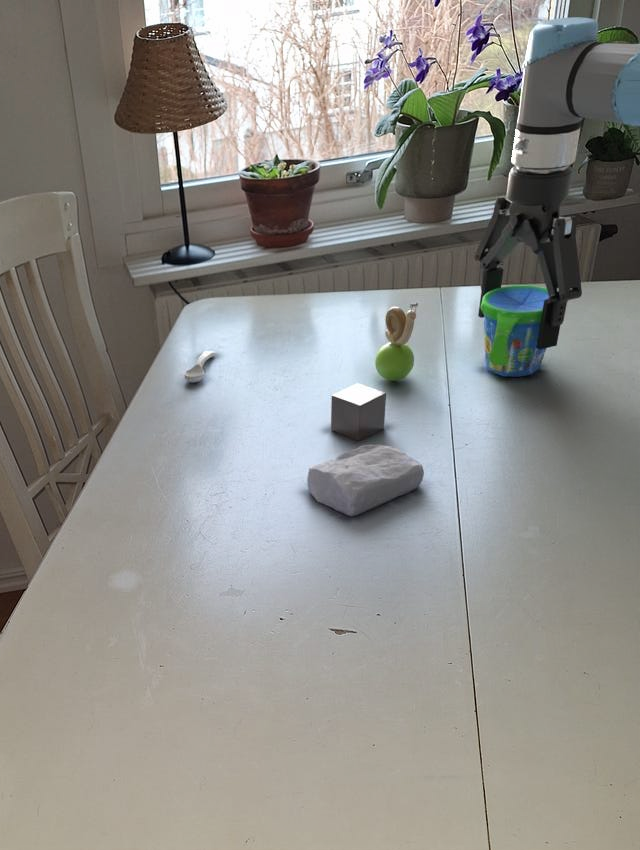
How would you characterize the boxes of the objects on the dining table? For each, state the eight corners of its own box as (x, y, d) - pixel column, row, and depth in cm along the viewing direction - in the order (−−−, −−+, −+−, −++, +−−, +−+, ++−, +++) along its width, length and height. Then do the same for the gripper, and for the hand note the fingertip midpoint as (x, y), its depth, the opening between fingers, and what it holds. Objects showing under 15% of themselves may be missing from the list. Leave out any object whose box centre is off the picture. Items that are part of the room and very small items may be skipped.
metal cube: (384, 428, 122) (386, 392, 119) (358, 441, 120) (360, 405, 117) (356, 417, 126) (357, 382, 122) (330, 430, 123) (331, 395, 120)
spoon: (181, 385, 139) (181, 372, 138) (201, 359, 148) (200, 347, 147) (200, 385, 138) (200, 372, 137) (219, 359, 148) (218, 347, 146)
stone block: (299, 503, 113) (353, 521, 105) (295, 465, 111) (350, 481, 103) (373, 474, 117) (430, 490, 109) (370, 438, 115) (429, 451, 107)
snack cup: (524, 396, 125) (535, 323, 119) (452, 381, 131) (460, 310, 125) (570, 355, 134) (583, 285, 128) (501, 343, 140) (510, 275, 134)
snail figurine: (392, 392, 130) (398, 308, 123) (367, 377, 135) (370, 295, 128) (424, 382, 132) (431, 299, 124) (398, 368, 137) (403, 286, 129)
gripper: (460, 152, 125) (443, 308, 138) (581, 192, 106) (549, 367, 119) (508, 143, 126) (487, 298, 139) (636, 180, 107) (598, 355, 121)
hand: (515, 330), depth 129 cm, fingers open, 13 cm apart
